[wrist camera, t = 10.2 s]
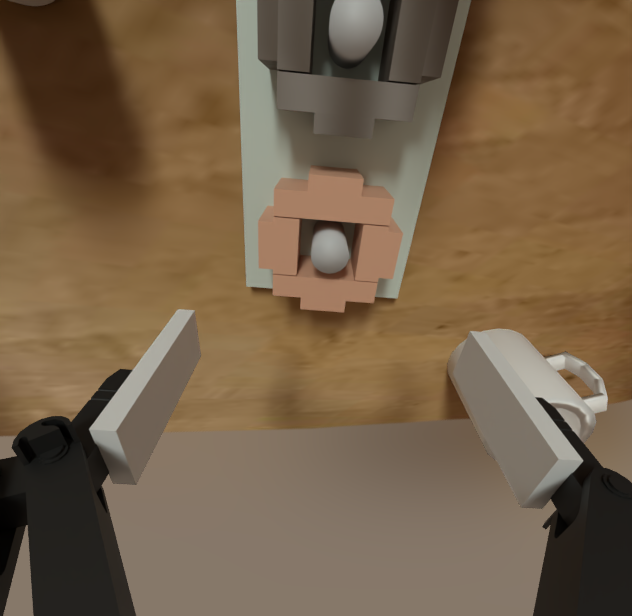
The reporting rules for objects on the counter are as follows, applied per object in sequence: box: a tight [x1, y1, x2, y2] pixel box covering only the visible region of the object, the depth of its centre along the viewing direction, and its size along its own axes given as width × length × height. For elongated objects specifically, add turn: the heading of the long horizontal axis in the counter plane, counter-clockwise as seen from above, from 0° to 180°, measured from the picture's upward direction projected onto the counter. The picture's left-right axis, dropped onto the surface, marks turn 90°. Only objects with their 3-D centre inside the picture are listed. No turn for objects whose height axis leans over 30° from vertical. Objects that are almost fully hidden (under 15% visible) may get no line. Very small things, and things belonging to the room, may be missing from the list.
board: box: [236, 0, 471, 298], centre depth 25 cm, size 16×27×8 cm, turn 175°
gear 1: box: [257, 0, 459, 139], centre depth 21 cm, size 11×11×5 cm
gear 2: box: [258, 165, 403, 312], centre depth 28 cm, size 11×11×5 cm
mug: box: [447, 329, 608, 461], centre depth 35 cm, size 14×10×11 cm
